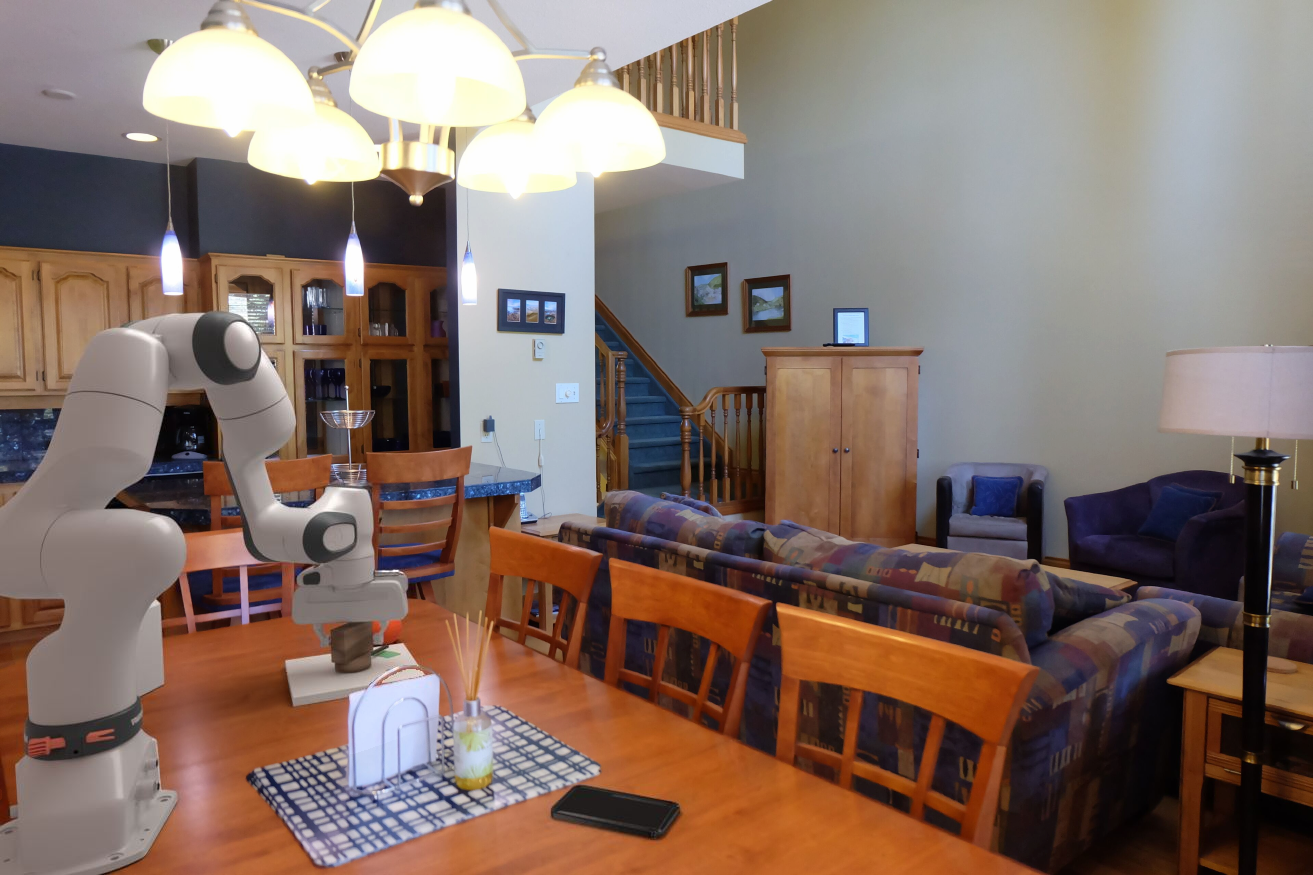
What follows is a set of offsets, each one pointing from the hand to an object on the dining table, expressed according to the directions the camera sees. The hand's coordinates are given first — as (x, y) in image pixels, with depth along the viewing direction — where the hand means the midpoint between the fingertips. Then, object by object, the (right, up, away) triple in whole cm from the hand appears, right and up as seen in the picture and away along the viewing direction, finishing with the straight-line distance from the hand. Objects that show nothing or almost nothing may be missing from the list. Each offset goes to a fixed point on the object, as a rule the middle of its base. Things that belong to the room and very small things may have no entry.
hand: (352, 644), depth 155 cm
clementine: (-1, -5, +19) cm, 20 cm away
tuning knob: (+1, -4, +3) cm, 5 cm away
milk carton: (-37, -7, -6) cm, 38 cm away
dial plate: (0, -6, 0) cm, 6 cm away
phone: (+51, -9, -51) cm, 73 cm away
